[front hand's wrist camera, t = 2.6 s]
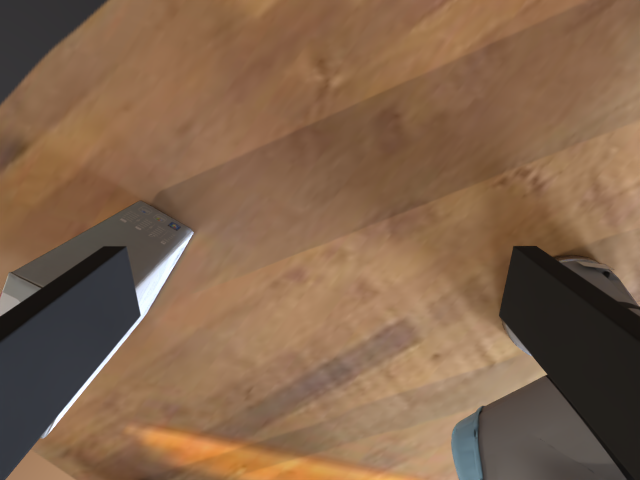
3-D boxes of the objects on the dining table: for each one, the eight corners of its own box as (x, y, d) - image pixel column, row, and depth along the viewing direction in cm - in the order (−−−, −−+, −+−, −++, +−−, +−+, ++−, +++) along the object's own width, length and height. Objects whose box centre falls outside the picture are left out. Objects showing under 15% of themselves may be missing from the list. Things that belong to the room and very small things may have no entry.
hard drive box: (139, 197, 44) (9, 268, 26) (195, 229, 46) (111, 318, 27) (93, 290, 49) (-45, 407, 30) (146, 317, 50) (45, 443, 32)
